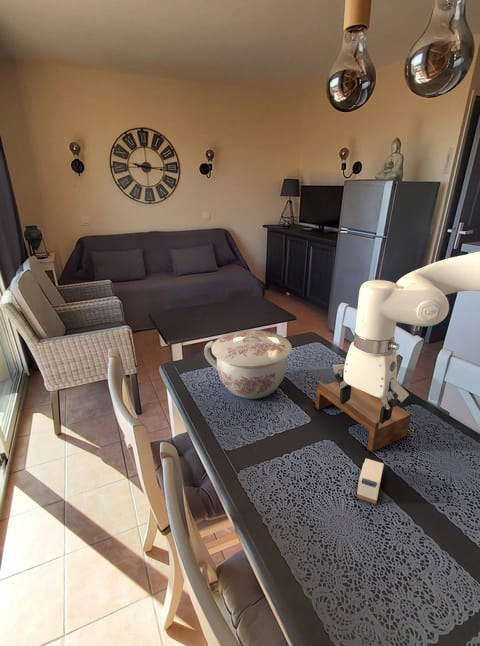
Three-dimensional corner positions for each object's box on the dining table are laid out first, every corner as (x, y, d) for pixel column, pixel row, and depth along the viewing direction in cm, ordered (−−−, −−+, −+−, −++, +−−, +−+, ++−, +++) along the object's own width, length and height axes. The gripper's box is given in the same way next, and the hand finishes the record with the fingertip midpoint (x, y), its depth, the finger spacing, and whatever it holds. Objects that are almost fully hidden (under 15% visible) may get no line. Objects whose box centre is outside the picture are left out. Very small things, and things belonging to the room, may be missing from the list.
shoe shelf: (347, 395, 124) (350, 370, 120) (407, 435, 104) (412, 407, 100) (315, 407, 118) (317, 381, 114) (371, 452, 98) (376, 423, 94)
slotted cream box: (364, 468, 93) (366, 451, 90) (382, 474, 91) (385, 456, 89) (356, 497, 85) (359, 479, 82) (376, 504, 83) (379, 485, 80)
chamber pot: (306, 393, 125) (309, 339, 117) (239, 420, 112) (237, 362, 104) (260, 361, 147) (260, 314, 139) (200, 381, 134) (196, 330, 126)
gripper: (424, 349, 70) (409, 421, 77) (346, 324, 82) (340, 389, 89) (406, 362, 65) (392, 437, 72) (326, 334, 77) (321, 401, 84)
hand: (363, 410), depth 80 cm, fingers open, 9 cm apart
